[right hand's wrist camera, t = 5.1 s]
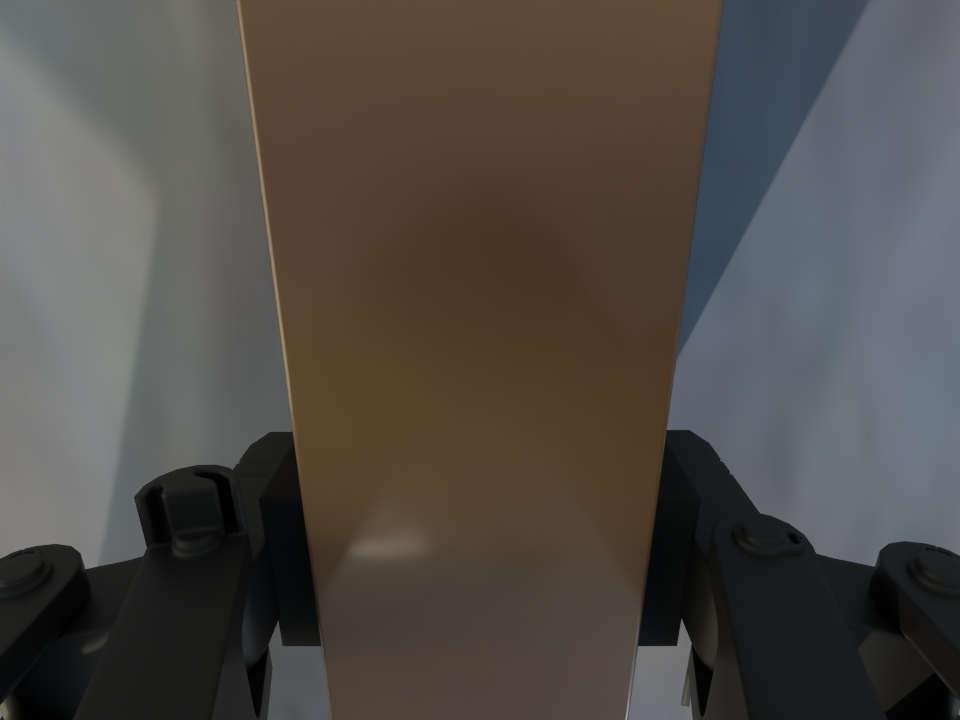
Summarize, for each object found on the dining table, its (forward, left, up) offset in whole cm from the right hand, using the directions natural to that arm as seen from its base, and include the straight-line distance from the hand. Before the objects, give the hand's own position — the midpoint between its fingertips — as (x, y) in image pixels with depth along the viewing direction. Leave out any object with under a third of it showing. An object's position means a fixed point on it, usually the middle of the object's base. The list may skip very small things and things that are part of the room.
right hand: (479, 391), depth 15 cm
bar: (+10, +29, -1) cm, 31 cm away
